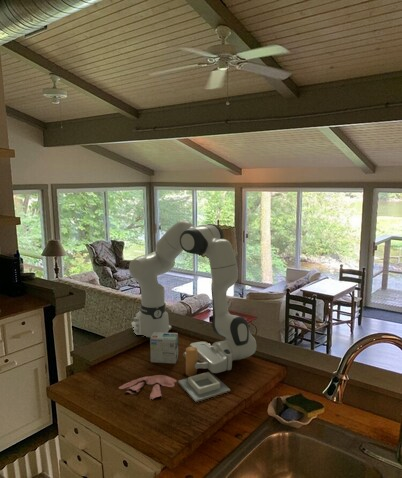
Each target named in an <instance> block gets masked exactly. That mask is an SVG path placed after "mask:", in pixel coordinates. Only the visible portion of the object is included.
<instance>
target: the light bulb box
mask: <svg viewBox="0 0 402 478" xmlns="http://www.w3.org/2000/svg"><path fill="white" fill-rule="evenodd" d="M149 341H150V342H149V344H150V345H149V347H150V349H149V350H150V352H149V353H150V363H157V364H158V363H160V364H173V365H174V364H176V363H177V361H178V358H179V334H178V332H168V333H162V332H154V333H153V334H152V336H151V337H149Z"/></svg>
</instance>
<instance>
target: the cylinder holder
mask: <svg viewBox="0 0 402 478" xmlns="http://www.w3.org/2000/svg"><path fill="white" fill-rule="evenodd" d="M177 382H178V385H179V386H180V387H181V388H182V389H183V390H184V392H185V391H186V392H187V393H188V394H189V395H190V396H189V395H188V394H187V393H186V392H185V393H186V394H187V395H188V396H189V398H190V399H191V398H192V399H193V400H194V401H195V402H198V401H201V400H203V399H207V398H209V397H212V396H215V395H218V394H221V393H224V392H227V391H231V389H230V388H229V387H228V386H227V385H226V384H225V383H224V382H223V381H221V380H220V378H218V377H217V375H216V374H215V373H212V372H211V371H207V372H203V373H199V374H197V375H195V376H188V377H186V378H183V379H179V380H178V381H177ZM193 400H192V401H193ZM194 401H193V402H194ZM195 402H194V403H195ZM201 402H202V401H201ZM198 403H199V402H198Z"/></svg>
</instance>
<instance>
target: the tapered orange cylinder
mask: <svg viewBox="0 0 402 478" xmlns="http://www.w3.org/2000/svg"><path fill="white" fill-rule="evenodd" d="M185 352H186V358H185V375H186V376H188V377H191V376H195V375H198V369H196V368H195V367H194V363H197V362H198V359H197V348H196V347H190V346H188V347H186V348H185Z"/></svg>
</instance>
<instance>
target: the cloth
mask: <svg viewBox="0 0 402 478" xmlns="http://www.w3.org/2000/svg"><path fill="white" fill-rule="evenodd" d="M177 382H178V381H177V379H175V378H173V377H171V376H169V375H168V376H167V375H165V374H158V375H157V374H156V375H155V374H154V375H150V376H142V377H139V378H137V379H133V380H131V381H128V382H126V383H124V384H122V385H120V386H119V387H118V389H119V390H123V389H124V390H125V389H126V391H124V392H123V395H125V394H127V393H129V394H131V395H137V393H139V392H140V391H141V390H142V388H143V387H145V384H146V385H153V387H152V389H151V392H150V394H149V400H151V399H152V400H154V399H155V398H156V397H160V396H161V398H160V399H162V398H163V395H162V390H161V387H167V388H173V387H175V383H177ZM160 385H161V386H160Z"/></svg>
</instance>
